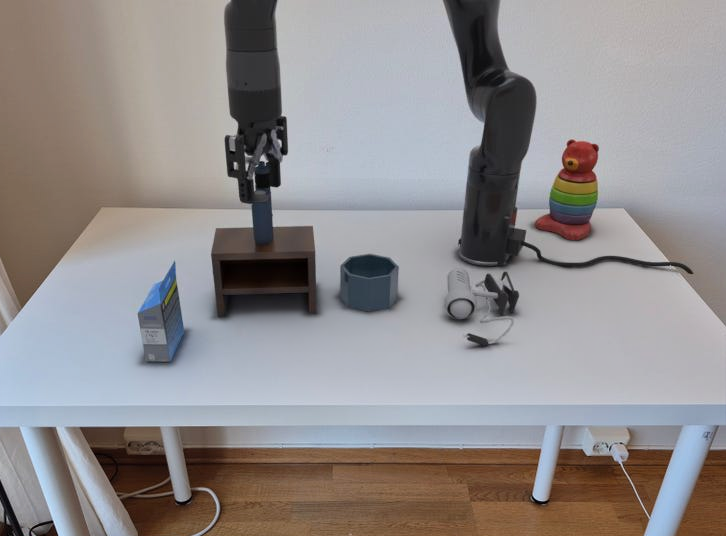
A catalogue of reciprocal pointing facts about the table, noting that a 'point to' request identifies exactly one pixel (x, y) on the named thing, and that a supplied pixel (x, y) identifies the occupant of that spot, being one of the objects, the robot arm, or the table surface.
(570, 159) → the stacking bear
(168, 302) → the blue cardboard box
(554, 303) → the table surface
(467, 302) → the clip-on lamp
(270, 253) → the block
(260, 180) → the vaping device
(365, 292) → the pen pot
